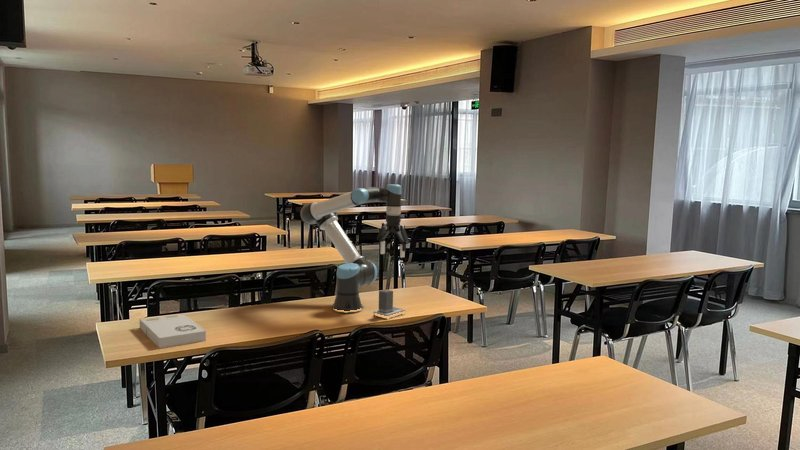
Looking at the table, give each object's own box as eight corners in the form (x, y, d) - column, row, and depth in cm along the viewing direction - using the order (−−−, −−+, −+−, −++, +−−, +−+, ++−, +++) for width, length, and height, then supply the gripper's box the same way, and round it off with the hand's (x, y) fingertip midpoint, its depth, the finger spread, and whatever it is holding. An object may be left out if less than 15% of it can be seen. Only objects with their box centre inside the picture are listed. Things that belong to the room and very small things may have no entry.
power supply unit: (182, 323, 272) (182, 312, 271) (206, 342, 246) (206, 330, 245) (139, 329, 261) (139, 318, 260) (159, 350, 234) (159, 338, 234)
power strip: (373, 315, 291) (373, 310, 290) (391, 310, 301) (392, 305, 301) (386, 319, 285) (387, 314, 284) (405, 314, 295) (405, 308, 295)
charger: (378, 314, 290) (379, 290, 289) (385, 312, 294) (385, 289, 293) (385, 316, 287) (386, 292, 286) (392, 314, 291) (393, 290, 289)
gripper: (370, 212, 302) (369, 253, 305) (407, 217, 286) (406, 259, 288) (380, 212, 308) (379, 251, 310) (417, 216, 292) (415, 257, 294)
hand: (392, 255), depth 299 cm, fingers open, 13 cm apart
